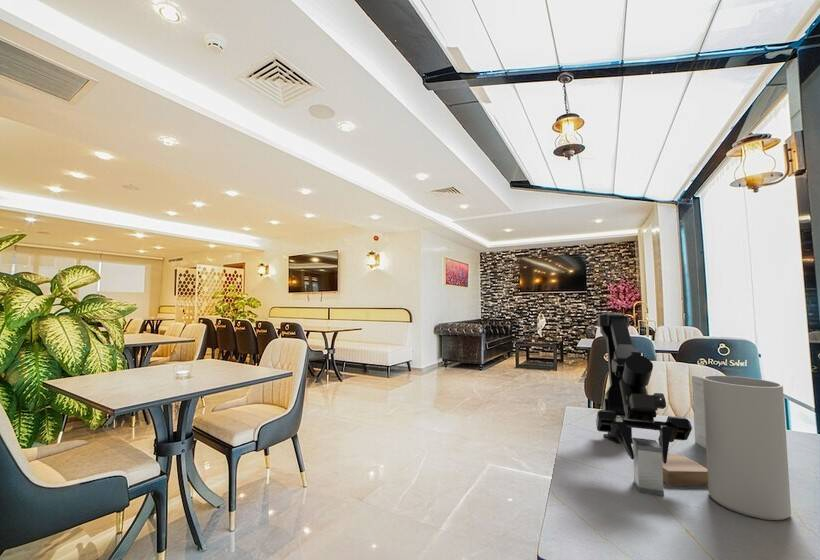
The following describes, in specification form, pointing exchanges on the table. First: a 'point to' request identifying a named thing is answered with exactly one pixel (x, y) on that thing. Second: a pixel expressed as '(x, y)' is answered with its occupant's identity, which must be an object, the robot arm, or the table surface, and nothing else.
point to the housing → (648, 466)
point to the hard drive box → (699, 410)
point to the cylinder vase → (747, 446)
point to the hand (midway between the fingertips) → (648, 460)
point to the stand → (683, 471)
